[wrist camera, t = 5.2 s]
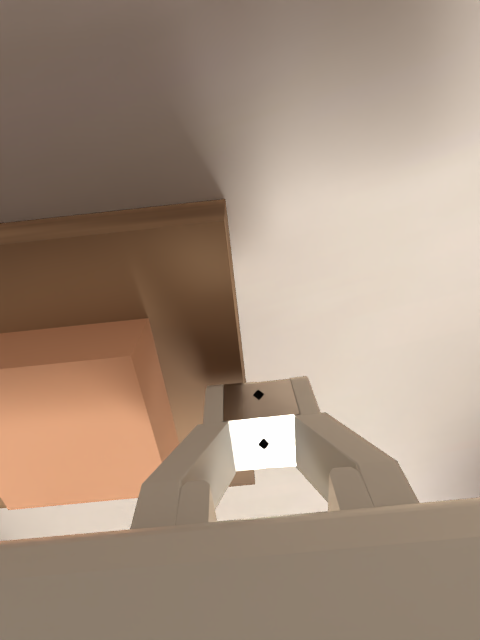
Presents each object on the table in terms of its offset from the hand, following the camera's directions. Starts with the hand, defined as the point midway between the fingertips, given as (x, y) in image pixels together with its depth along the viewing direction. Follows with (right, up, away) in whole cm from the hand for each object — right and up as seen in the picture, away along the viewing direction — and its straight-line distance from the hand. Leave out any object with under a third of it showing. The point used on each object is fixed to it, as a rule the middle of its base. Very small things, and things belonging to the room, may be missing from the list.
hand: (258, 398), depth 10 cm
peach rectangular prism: (-5, 0, +1) cm, 5 cm away
